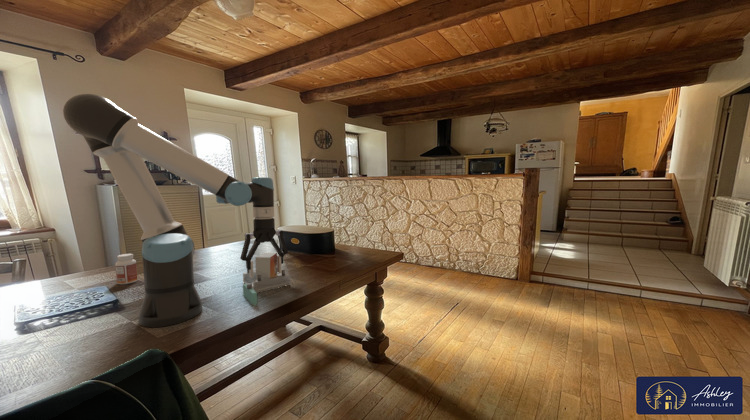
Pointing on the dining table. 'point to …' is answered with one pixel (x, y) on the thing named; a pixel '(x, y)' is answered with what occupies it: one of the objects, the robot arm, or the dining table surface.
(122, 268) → the pill bottle
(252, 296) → the gate
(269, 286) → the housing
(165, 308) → the robot arm
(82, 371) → the dining table surface
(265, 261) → the small box
